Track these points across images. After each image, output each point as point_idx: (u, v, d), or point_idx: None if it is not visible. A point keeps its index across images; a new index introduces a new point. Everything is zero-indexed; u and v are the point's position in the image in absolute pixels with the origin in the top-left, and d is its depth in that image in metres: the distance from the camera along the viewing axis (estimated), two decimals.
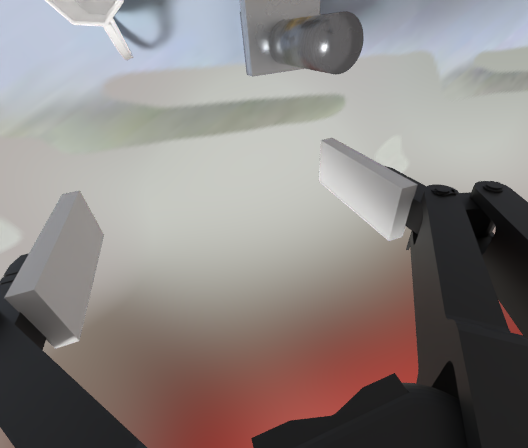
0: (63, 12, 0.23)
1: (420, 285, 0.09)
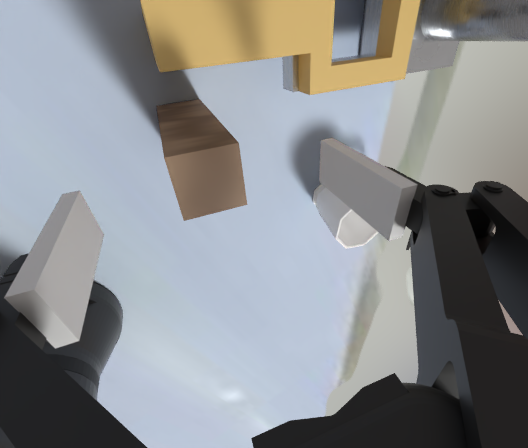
0: (374, 233, 0.33)
1: (420, 285, 0.09)
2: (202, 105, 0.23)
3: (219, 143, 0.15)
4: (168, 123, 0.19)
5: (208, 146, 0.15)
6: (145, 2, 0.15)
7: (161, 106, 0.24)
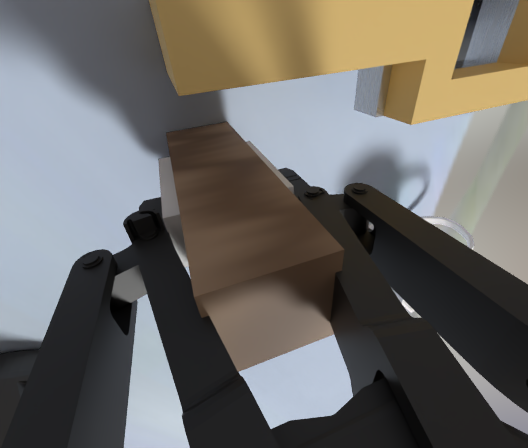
0: None
1: None
2: (235, 135, 0.16)
3: (302, 249, 0.07)
4: (189, 175, 0.12)
5: (282, 256, 0.07)
6: None
7: (173, 134, 0.17)
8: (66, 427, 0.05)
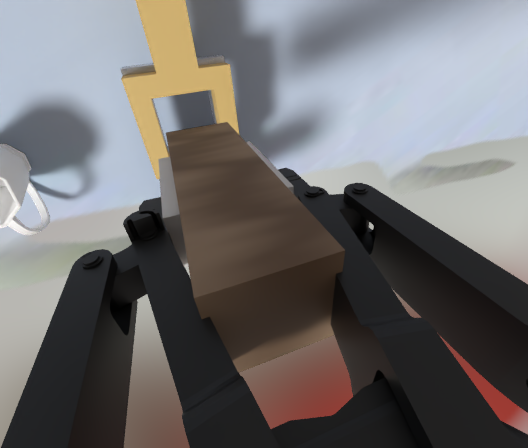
0: None
1: None
2: (235, 135, 0.16)
3: (303, 249, 0.07)
4: (188, 175, 0.12)
5: (282, 257, 0.07)
6: None
7: (173, 134, 0.17)
8: (66, 427, 0.05)
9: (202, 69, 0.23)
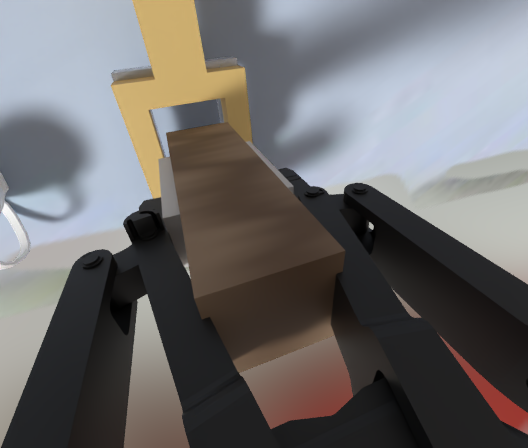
0: None
1: None
2: (235, 135, 0.16)
3: (304, 249, 0.07)
4: (189, 175, 0.12)
5: (282, 258, 0.07)
6: None
7: (173, 134, 0.17)
8: (66, 427, 0.05)
9: (211, 73, 0.19)
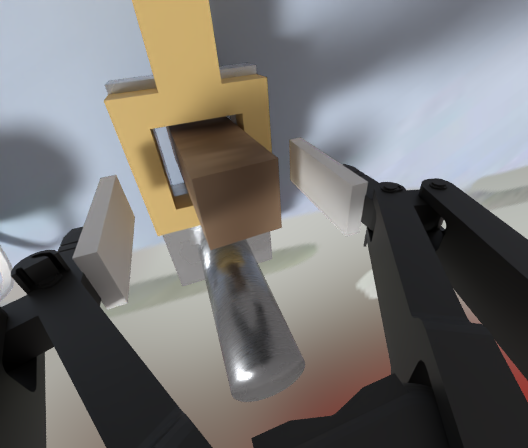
0: None
1: (382, 282, 0.09)
2: None
3: (254, 159, 0.12)
4: (182, 133, 0.17)
5: (242, 163, 0.12)
6: None
7: None
8: None
9: (227, 85, 0.15)
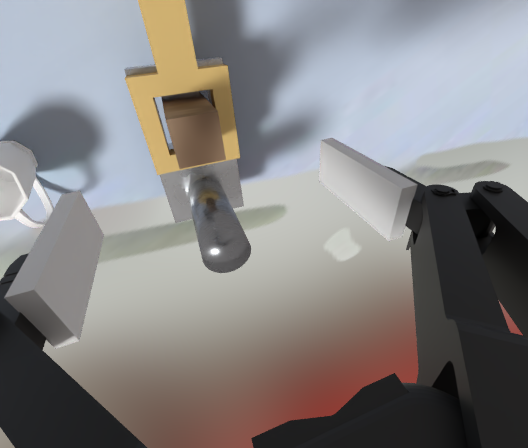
0: None
1: (420, 285, 0.09)
2: None
3: (204, 112, 0.21)
4: (169, 102, 0.26)
5: (196, 113, 0.21)
6: None
7: None
8: None
9: (201, 70, 0.24)
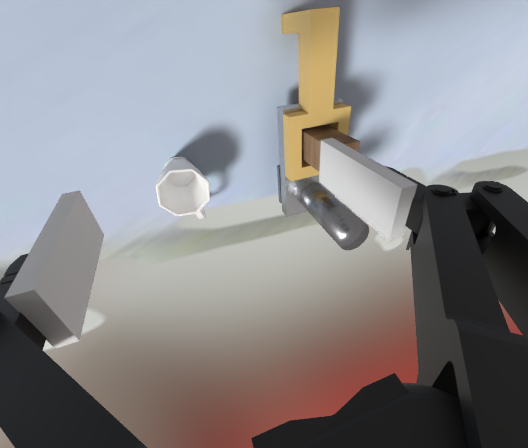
0: (172, 211, 0.36)
1: (420, 285, 0.09)
2: None
3: (350, 141, 0.32)
4: (308, 130, 0.37)
5: (345, 142, 0.32)
6: (338, 9, 0.29)
7: None
8: None
9: (335, 109, 0.35)
